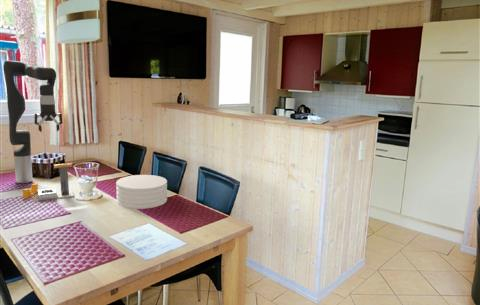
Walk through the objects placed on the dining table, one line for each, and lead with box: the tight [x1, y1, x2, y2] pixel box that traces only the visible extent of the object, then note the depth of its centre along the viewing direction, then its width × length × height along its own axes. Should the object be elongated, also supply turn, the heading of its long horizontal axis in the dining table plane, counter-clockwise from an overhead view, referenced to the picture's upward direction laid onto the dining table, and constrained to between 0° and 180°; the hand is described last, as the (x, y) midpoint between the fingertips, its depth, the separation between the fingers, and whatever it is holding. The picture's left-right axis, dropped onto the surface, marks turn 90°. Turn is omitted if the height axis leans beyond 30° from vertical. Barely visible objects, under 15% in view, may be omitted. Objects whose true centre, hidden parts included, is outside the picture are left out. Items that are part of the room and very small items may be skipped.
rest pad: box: [56, 191, 75, 199], centre depth 207 cm, size 8×8×1 cm
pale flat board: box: [31, 191, 76, 203], centre depth 204 cm, size 11×21×2 cm, turn 122°
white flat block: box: [37, 187, 58, 202], centre depth 202 cm, size 9×9×4 cm
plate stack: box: [115, 174, 168, 210], centre depth 208 cm, size 28×28×12 cm
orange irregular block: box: [22, 183, 39, 199], centre depth 205 cm, size 12×4×6 cm, turn 5°
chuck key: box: [53, 162, 73, 195], centre depth 205 cm, size 4×9×18 cm, turn 122°
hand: (49, 131), depth 211 cm, fingers open, 8 cm apart
